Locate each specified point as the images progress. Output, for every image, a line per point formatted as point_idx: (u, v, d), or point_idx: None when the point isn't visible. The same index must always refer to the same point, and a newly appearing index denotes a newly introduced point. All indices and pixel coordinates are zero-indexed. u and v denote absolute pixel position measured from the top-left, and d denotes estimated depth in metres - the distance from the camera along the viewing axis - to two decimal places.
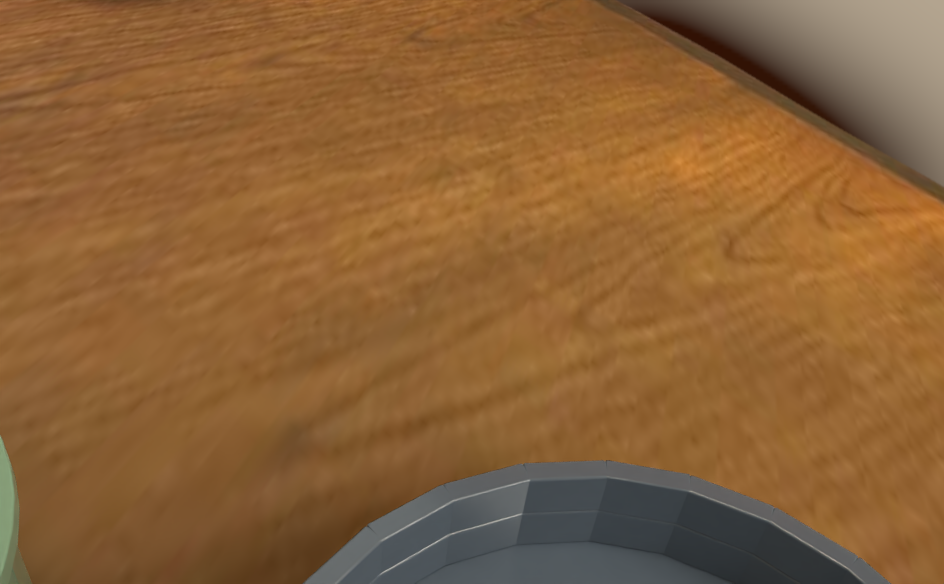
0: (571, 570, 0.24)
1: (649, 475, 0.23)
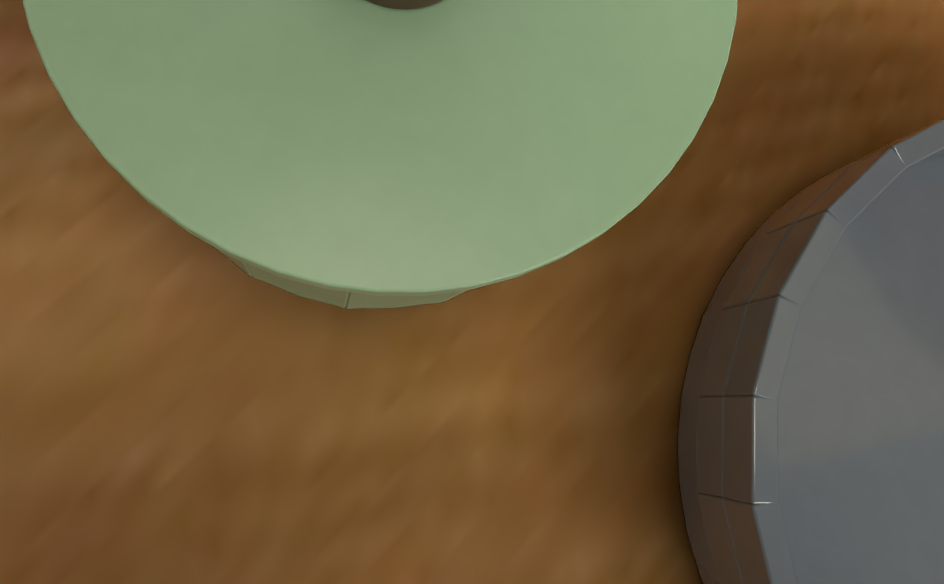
0: None
1: None
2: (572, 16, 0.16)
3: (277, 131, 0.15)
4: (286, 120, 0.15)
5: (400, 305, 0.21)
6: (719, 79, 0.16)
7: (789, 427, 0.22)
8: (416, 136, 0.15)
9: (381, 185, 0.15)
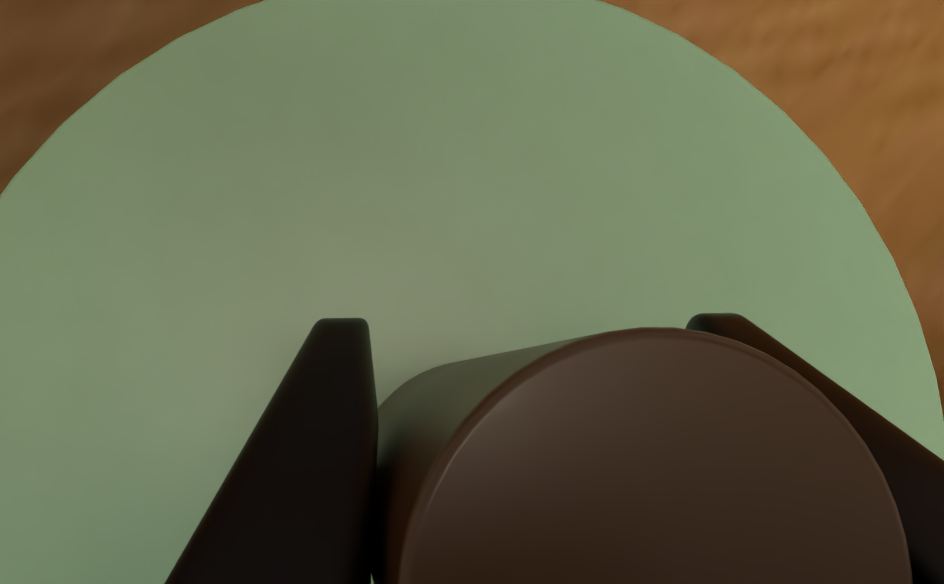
0: None
1: None
2: None
3: None
4: None
5: None
6: None
7: None
8: None
9: None
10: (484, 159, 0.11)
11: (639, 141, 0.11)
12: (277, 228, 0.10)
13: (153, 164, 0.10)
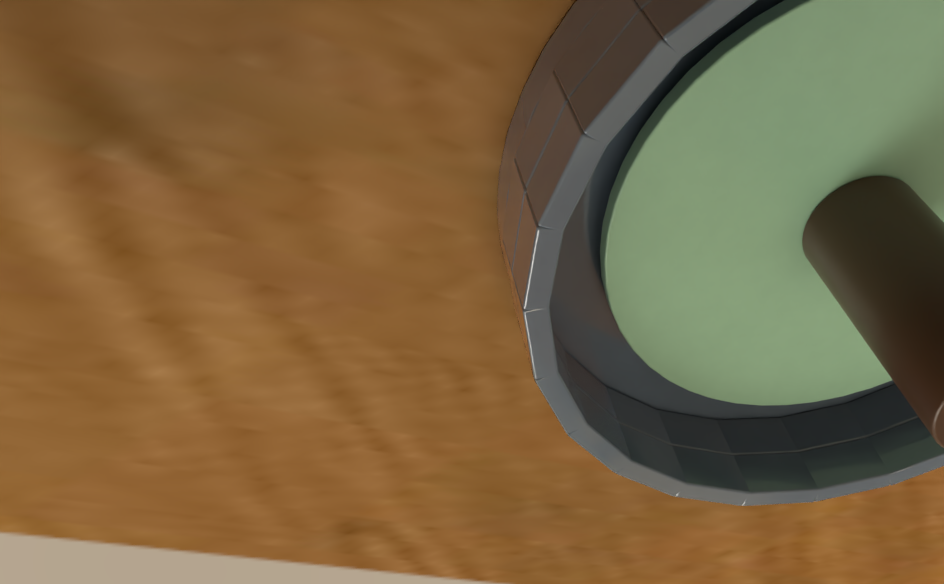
0: None
1: None
2: (766, 320, 0.23)
3: (745, 145, 0.20)
4: (751, 151, 0.20)
5: None
6: (700, 394, 0.25)
7: None
8: (715, 230, 0.21)
9: (688, 209, 0.21)
10: None
11: None
12: None
13: None
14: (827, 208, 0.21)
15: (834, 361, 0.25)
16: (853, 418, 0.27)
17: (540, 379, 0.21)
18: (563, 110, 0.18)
